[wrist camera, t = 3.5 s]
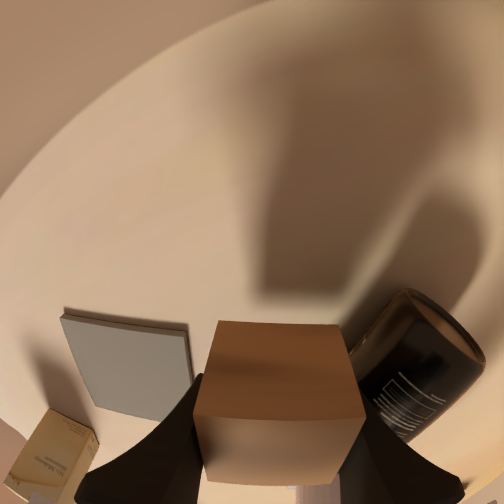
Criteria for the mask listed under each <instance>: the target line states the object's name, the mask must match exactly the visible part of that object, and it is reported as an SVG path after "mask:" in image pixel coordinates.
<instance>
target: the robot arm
mask: <svg viewBox="0 0 504 504" xmlns="http://www.w3.org/2000/svg"><path fill="white" fill-rule="evenodd" d="M203 375H204V374H203V373H199V374H198V375H197V377H196V378H195V380H194V381H193V383H192V385H191V386H190V387H189V389H188V390H187V392H186V393H185V394H184V396H183V397H182V398H181V400H180V401H179V402H178V404H177V405H176V406H175V407H174V409H173V410H172V411H171V412H170V413H169V414H168V415H167V416H166V418H165V419H164V420H163V421H162V422H161V423H160V424H159V425H158V426H157V427H156V428H155V429H154V430H153V431H152V432H151V433H149V434H148V435H147V436H146V437H145V438H144V439H142V440H141V441H140V442H139V443H137V444H136V445H135V446H134V447H132V448H131V449H129V450H128V451H127V452H125V453H123V454H122V455H120V456H119V457H117V458H115V459H114V460H112V461H110V462H109V463H107V464H105V465H103V466H101V467H99V468H97V469H95V470H92V471H90V472H88V473H86V474H85V476H84V478H83V479H82V481H81V482H80V484H79V486H78V489H77V491H76V493H75V495H74V500H75V502H76V503H77V504H197V499H198V492H199V486H200V479H201V473H202V469H203V465H204V464H203V459H202V455H201V451H200V446H199V442H198V437H197V432H196V427H195V423H194V418H193V411H194V408H195V404H196V400H197V396H198V393H199V389H200V385H201V382H202V378H203ZM358 389H359V392H360V395H361V399H362V403H363V406H364V410H365V413H366V419H365V421H364V423H363V426H362V428H361V430H360V432H359V434H358V436H357V438H356V440H355V442H354V443H353V445H352V447H351V449H350V451H349V453H348V455H347V457H346V458H345V460H344V462H343V464H342V465H341V467H340V469H339V473H338V474H336V476H335V477H334V479H333V481H332V482H331V484H323V485H305V486H287V489H296V504H457V503H458V502H459V501H460V500H461V499H462V498H463V497H464V496H465V492H464V489H463V486H462V483H461V481H460V479H459V477H457V476H455V475H453V474H451V473H449V472H447V471H445V470H443V469H441V468H439V467H438V466H436V465H434V464H433V463H431V462H429V461H428V460H426V459H425V458H424V457H422V456H421V455H420V454H418V453H417V452H416V451H414V450H413V449H412V448H411V447H409V446H408V445H407V444H406V443H405V442H404V441H403V440H402V439H401V438H399V437H398V436H397V435H396V434H395V433H394V431H393V430H392V429H391V428H390V427H389V426H388V425H387V424H386V423H385V421H384V420H383V419H382V418H381V417H380V415H379V414H378V413H377V412H376V410H375V409H374V408H373V407H372V405H371V404H370V403H369V401H368V400H367V398H366V397H365V396H364V394H363V393H362V391H361V390H360V388H359V387H358ZM28 504H56V503H54V502H53V501H51V500H49V499H47V498H45V497H44V496H42V495H40V494H38V493H37V492H33V494H32V496H31V498H30V500H29V502H28ZM488 504H497V501H496V500H493V501H492V502H490V503H488Z"/></svg>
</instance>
